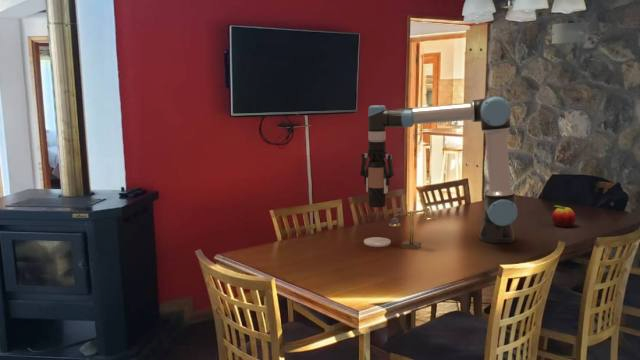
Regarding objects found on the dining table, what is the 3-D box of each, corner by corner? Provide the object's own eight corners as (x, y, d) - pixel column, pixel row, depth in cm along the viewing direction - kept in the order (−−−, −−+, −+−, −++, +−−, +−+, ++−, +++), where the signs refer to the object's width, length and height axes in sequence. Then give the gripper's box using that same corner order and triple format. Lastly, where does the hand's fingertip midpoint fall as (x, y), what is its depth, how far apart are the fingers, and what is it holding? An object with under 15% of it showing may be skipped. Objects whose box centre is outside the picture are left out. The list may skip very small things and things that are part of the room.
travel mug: (384, 207, 248) (384, 162, 245) (367, 207, 249) (367, 162, 246) (386, 204, 255) (386, 160, 252) (369, 204, 257) (369, 160, 253)
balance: (436, 248, 245) (436, 207, 243) (432, 251, 240) (432, 210, 237) (391, 243, 255) (391, 203, 252) (386, 246, 249) (387, 206, 247)
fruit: (568, 229, 273) (569, 209, 271) (547, 226, 281) (548, 206, 280) (579, 225, 280) (580, 206, 278) (557, 222, 288) (558, 203, 286)
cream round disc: (394, 241, 257) (394, 238, 257) (384, 248, 247) (384, 245, 247) (369, 238, 263) (369, 236, 263) (359, 245, 252) (359, 242, 252)
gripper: (402, 140, 246) (401, 192, 250) (358, 139, 256) (359, 189, 259) (396, 142, 240) (396, 195, 243) (352, 141, 249) (352, 192, 253)
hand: (376, 192), depth 251 cm, fingers closed on travel mug, 8 cm apart
